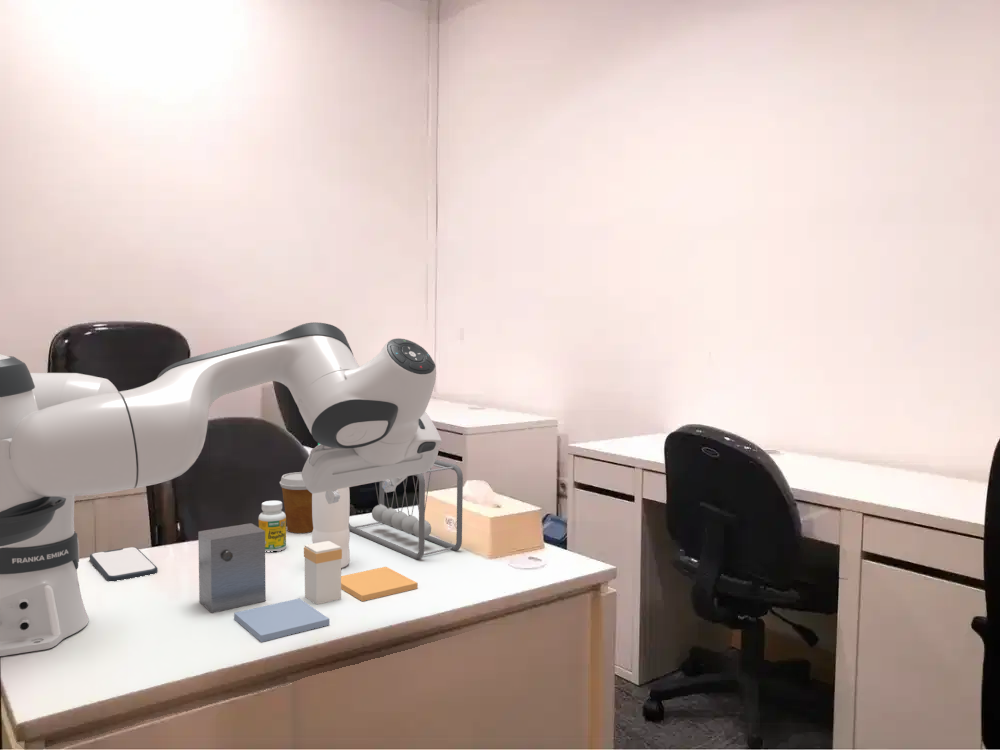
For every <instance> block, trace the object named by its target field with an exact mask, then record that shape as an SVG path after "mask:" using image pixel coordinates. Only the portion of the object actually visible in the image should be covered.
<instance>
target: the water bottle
mask: <svg viewBox="0 0 1000 750" xmlns="http://www.w3.org/2000/svg"><path fill="white" fill-rule="evenodd" d="M318 445H319V443H318V442H317V446H318ZM337 490H338V491H337V492H338V493H339V494H340V499H339V501H338V502H336V503H332V504H328V502H327V500H326V497H325V494H326V492H321V493H315V494H312V520H313V531H312V532H311V533H312V534H311V540H312V544H314V543H319V542H325V541H330V542H332V543H334V544H336V545H338V546H340V547H341V549H342V559H341V569H342V568H345V567H347V566H348V565H349V563H350V560H351V557H350V555H351V553H350V536H351V533H350V532H351V531H349V524H350V511H351V509H350V508H351V504H350V503H351V499H350V496H351V495H350V487H347V488H342V489H337Z"/></svg>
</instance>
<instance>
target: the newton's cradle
mask: <svg viewBox="0 0 1000 750" xmlns="http://www.w3.org/2000/svg"><path fill="white" fill-rule="evenodd" d="M433 467H436V469H435V468H434V469H432V468H431V469H430V470H428V471H427V472H425V473H421V474H415V475H412V479H413V485H414V491H415V493H414V497H413V504H412V509H411V514H410V512H409V505H408V498H407V492H406V489H407V488H406V487H407V482H408V477H409V476H407V478H406V479H404V480H403V481H402V482H403V489H404V492H403V496H402V497H403V499H402V502H401V503H402V505H401V508H400V509H401V510H400V509H399V503H398V498H397V492H396V489H395V491H393V494H392V495H393V496H392V500H391V501H392V502H391V507H390V505H389V504H390V503H389V499H388V494H387V493H388V492H387V493H386V492H385V491H384V489H383V487H382V483H383V482H384V481H379V482H378V483H379V485H378V487H379V488H377V482H374V485H375V491H376V496H377V503H378V504H377V505H375V506H374V507H373V509H372V511H371V517H372V519H373V520H375V521H376V522H372V523H365V524H361V525H356V526H352V525H351V523H349V532H351V533H353V534H356V535H358V536H359V537H360V536H361V537H362V538H365V539H368V540H369V541H372V542H375V543H377V544H379V545H381V546H384V547H385V548H386V547H387V548H388V549H391V550H393V551H396V552H398V553H400V554H403V555H405V556H407V557H410V558H412V559H414V560H421V559H422V558H423V557H424V556H427V555H431V554H436V553H440V552H445V551H449V550H451V551H458V550H460V548H461V547H462V545H463V497H464V495H463V493H464V492H463V490H464V488H463V487H464V477H463V471H462V469H461V467H460V466H458V465H457V464H453V463H450V462H447V461H443V460H438V459H436V461H435V463H434V465H433ZM445 470H446V471H447V470H453V471H455V473H456V539H455V540H456V542H455V544H452V543H451V542H447V541H445V540H442V539H440V538H438V537H435V536H432V535H430V534H431V533H432V526H431V524H430V523H429V521H428V520H426V519H425V516H426V515H425V513H426V508H427V499H428V492H429V486H430V481H431V479H430V478H431V473H432V472H433V473H434V472H440V471H445ZM426 473H429V477H428V482H427V483H428V484H427V489H426V481H425V480H426V479H425V477H424V474H426ZM414 476H415V477H417V480H416V481H415V478H414ZM415 482H416V483H415ZM417 487H418V488H417ZM378 489H379V490H378ZM417 489H418V493H417ZM426 490H427V491H426ZM378 491H379V494H378ZM417 494H418V495H417ZM385 495H386V496H385ZM385 497H386V501H387V502H386V503H387V506H386V505H385ZM394 497H395V500H396V505H397V510H396V509H394V508H393V504H394ZM404 500H405V501H406V508H407V513H405V512H403V506H404ZM415 501H416V502H417V503H416V505H417V508H418V518H417V517H416V516H414V515H413V512H414V506H415ZM379 524H384V525H385V526H387V527H388V526H389V527H392V528H394V529H396V530H399V531H403V532H405V533H406V534H410V535H412V536H415V537H416V538H418V551H417V552H415V551H412V550H410V549H408V548H405V547H402V546H401V545H398V544H396V543H393V542H392V541H389V540H386V539H385V538H381V537H379V536H376V535H375V534H371V533H369V532H367V531H365V530H362V529H360V528H364V527H370V526H372V525H373V526H375V525H379ZM425 540H426V541H428V542H431V543H433V544H436V545H438V546H441V547H443V548H442V549H437V550H433V551H429V552H425Z"/></svg>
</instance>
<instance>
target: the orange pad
mask: <svg viewBox="0 0 1000 750" xmlns="http://www.w3.org/2000/svg"><path fill="white" fill-rule="evenodd" d="M418 586H419V585H418V582H417V581H414V580H413V579H411V578H409V577H407V576H405V575H403V574H401V573H399V572H398V571H395V570H393V569H391V568H390V567H388V566H383V567H378V568H374V569H369V570H363V571H359V572H353V573H349V574H345V575H341V591H344V592H345V593H347V594H349V595H350V596H352V597H354V598H355V597H356V598H355V599H357V600H359V601H360V600H361V601H360V602H366V600H367V601H370V599H371V600H374V599H375V600H376V599H379V598H384V597H387V596H392V595H396V594H401V593H403V592H404V593H405V592H408V591H412V590H416V589H418V588H419V587H418Z"/></svg>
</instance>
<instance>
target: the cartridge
mask: <svg viewBox="0 0 1000 750" xmlns="http://www.w3.org/2000/svg"><path fill="white" fill-rule="evenodd" d="M303 557H304V597H305V598H306V599H307V600H309V601H310V600H311V601H310V602H312V603H313V602H314V604H315V605H316V604H317V605H321V604H324V603H331V602H333V600H334V601H338V599H339V600H342V589H341V576H342V568H341V559H342V549H341V547H340V546H338V545H336V544H334V543H332V542H330V541H325V542H319V543H314V544H313V543H310V544H305V545H304V547H303Z"/></svg>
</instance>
